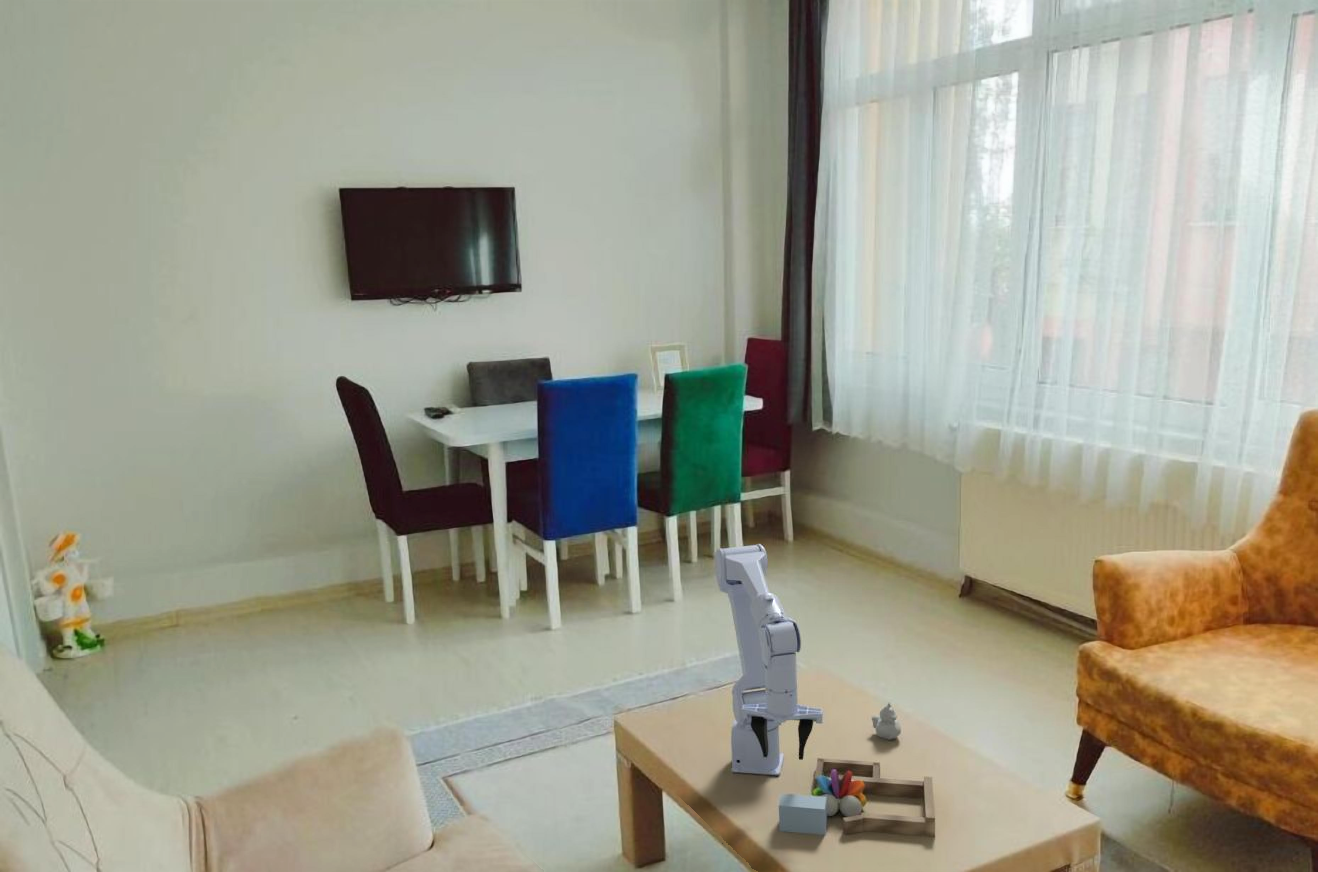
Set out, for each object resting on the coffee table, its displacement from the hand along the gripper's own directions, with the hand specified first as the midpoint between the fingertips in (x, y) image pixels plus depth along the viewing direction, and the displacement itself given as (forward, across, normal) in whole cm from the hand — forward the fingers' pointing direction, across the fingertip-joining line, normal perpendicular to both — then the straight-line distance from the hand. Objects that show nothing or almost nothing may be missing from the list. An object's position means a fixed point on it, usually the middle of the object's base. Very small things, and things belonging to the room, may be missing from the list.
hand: (783, 755), depth 177 cm
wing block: (+10, +4, -7) cm, 13 cm away
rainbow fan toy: (+10, +10, 0) cm, 14 cm away
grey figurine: (+10, +18, +28) cm, 35 cm away
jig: (+9, +16, +2) cm, 19 cm away
